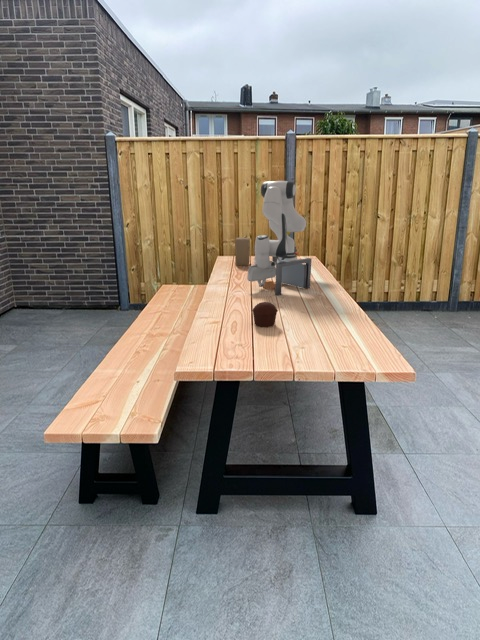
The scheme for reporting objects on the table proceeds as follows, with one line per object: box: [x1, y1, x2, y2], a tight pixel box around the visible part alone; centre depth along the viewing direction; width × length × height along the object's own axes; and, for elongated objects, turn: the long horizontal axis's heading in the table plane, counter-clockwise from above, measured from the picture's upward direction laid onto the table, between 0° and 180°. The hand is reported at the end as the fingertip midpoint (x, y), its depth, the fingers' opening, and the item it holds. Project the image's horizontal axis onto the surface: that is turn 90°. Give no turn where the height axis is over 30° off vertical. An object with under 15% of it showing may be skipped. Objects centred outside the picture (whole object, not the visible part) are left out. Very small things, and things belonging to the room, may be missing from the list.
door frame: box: [274, 257, 312, 296], centre depth 263 cm, size 27×2×18 cm, turn 131°
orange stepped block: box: [262, 279, 284, 290], centre depth 276 cm, size 12×5×4 cm, turn 131°
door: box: [279, 260, 307, 289], centre depth 277 cm, size 22×1×14 cm, turn 41°
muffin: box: [251, 301, 279, 328], centre depth 204 cm, size 12×11×10 cm
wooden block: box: [234, 237, 251, 267], centre depth 342 cm, size 10×10×20 cm
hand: (261, 286), depth 270 cm, fingers closed
